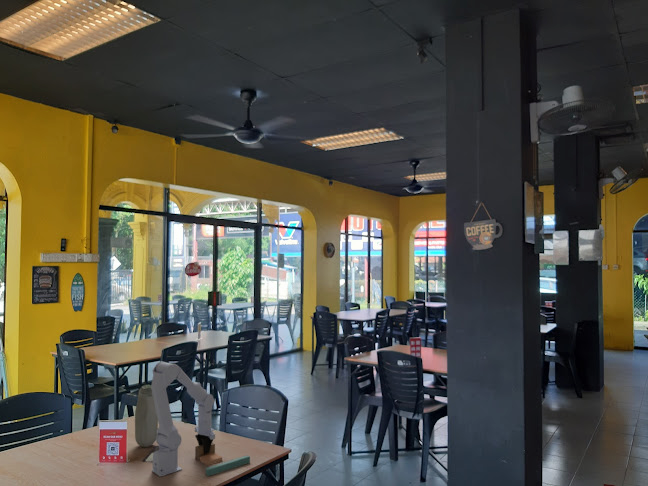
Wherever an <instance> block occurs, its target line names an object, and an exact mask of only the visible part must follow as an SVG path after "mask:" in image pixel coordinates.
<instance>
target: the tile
mask: <svg viewBox="0 0 648 486" xmlns="http://www.w3.org/2000/svg"><path fill="white" fill-rule="evenodd" d="M199 461H200V462H202V463H204V464H205V465H207V466H211V465H213V464H216V463H219V462H223V456H221V455H219V454H218V453H216V452H215V453H211V454H208V455H204V456H201V457H200V460H199Z"/></svg>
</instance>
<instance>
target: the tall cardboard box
mask: <svg viewBox="0 0 648 486" xmlns="http://www.w3.org/2000/svg"><path fill="white" fill-rule="evenodd" d="M194 453H195V455H194V457H195V460H197V461H200V457H201V456H204V455H208V454H211V453H216V444H215V443H214V442H212V444H211V447H210V451H209V453H206V454H205V453H204V448H203V445H200V446H199V445H196V446H195V450H194Z"/></svg>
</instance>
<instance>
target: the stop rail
mask: <svg viewBox="0 0 648 486" xmlns="http://www.w3.org/2000/svg"><path fill="white" fill-rule="evenodd" d="M249 463H251V457H250V455H244V456H241V457H236V458H235V459H231V460H228V461H224V462H221V463H219V464H215V465H212V466H211V465H210V466H209V467H205V475H206V476H207V477H211V476H213V475H217V474H219V473H222V472H226V471H228V470H231V469H234V468H236V467H237V468H238V467H241V466H243V465H246V464H249Z"/></svg>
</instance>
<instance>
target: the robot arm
mask: <svg viewBox="0 0 648 486" xmlns="http://www.w3.org/2000/svg"><path fill="white" fill-rule="evenodd" d="M174 380H177V381H178V382H179V383H180V384H182V385H183V386H184V387H185V388H186V392H187V394H188V395H189V396H190V397H191V398H192V399H193V400H194V402H195V404H196V405H197V408H198V409H197V410H198V411H197V412H198V413H197V414H198V417H197V420H198V421H197V422H198V424H197V426H195V427H194V432H195V433H197V434H195V435H194V436H195V439H196V441H197V444H198V446H200V445H203V448H204V453H205V454H206V453H209V451H210V447H211V444H212V443H213V441H214V440H215V439H216V433H214V430H215V429H214V428H212V412H213V411H212V410H213V405H214V404H215V399H214V395H213V394H211V393H208V390H207V389H204V387H203V386H202V383H200V382H197V381H192V379H190V377H189V376H188V375H187V374H186V373H185V372H184V371H183V369H182V367H180V366H179V365H178V364H176V363H169V362H166V361H159V362H157V363H156V365H155V366H154V367H153V369H152V380H151V384H150V385H151V389H152V394H153V399H154V404H155V408H156V413H157V418H158V429H157V437H156V441H155V442H156V444H158V446H159V448H160V449H159V450H158V451H156V452H154V453H153V462H152V469H151V472H153V473H154V474H155V475H158V476H159V477H163V476H166V475H169V474H173V473H176V472H179V471H181V470H182V468H181V467H180V466H178V461H179V460H178V459H179V456H178V455H179V454H178V453H179V452H178V450H179V447H180V446H181V444H182V437H181V435H180V433H179V430H178V428H177V427H176V426H175V425H174V422H173V417H172V412H171V407H170V403H169V398H168V397H169V396H168V393H167V388H168V386H169V385H171V383H173V382H174Z"/></svg>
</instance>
